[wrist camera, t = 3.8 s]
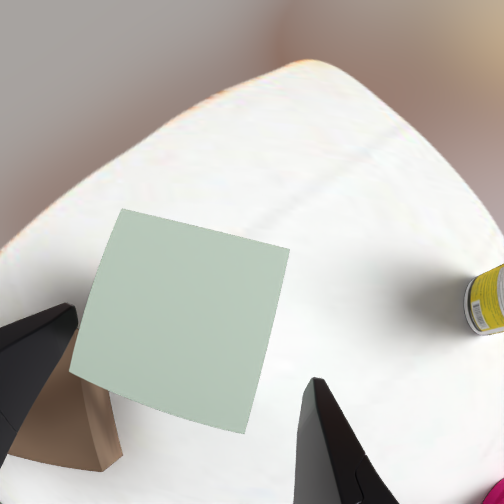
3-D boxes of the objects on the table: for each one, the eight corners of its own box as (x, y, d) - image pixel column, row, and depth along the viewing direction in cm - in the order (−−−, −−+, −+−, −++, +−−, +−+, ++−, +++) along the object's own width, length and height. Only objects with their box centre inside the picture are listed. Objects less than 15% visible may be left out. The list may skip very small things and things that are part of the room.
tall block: (240, 383, 18) (244, 434, 6) (165, 362, 18) (68, 371, 7) (259, 310, 19) (289, 249, 8) (185, 290, 20) (121, 208, 8)
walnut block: (124, 453, 16) (102, 472, 12) (32, 443, 15) (4, 452, 11) (102, 333, 18) (74, 328, 15) (15, 338, 18) (-16, 333, 14)
